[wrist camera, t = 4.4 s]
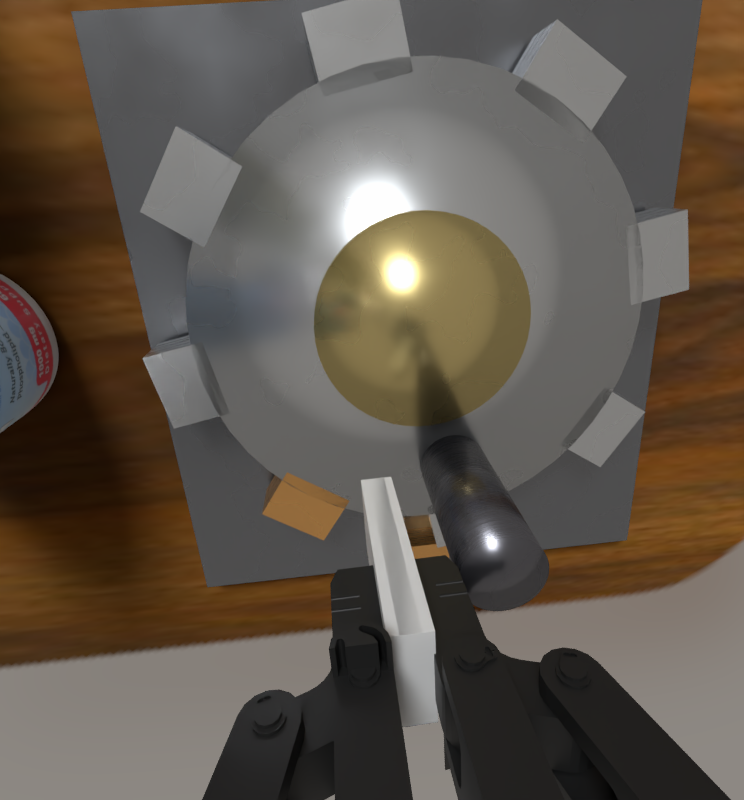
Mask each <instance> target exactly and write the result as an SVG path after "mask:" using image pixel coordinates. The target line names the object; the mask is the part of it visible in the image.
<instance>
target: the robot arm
mask: <svg viewBox="0 0 744 800" xmlns="http://www.w3.org/2000/svg"><path fill="white" fill-rule="evenodd" d="M361 488H362V500H363V511H364V522H365V533H366V545H367V553H368V560H369V566H363V567H355V568H347V569H339V570H337V572H336V574H335V576H334V578H333V580H332V582H331V607H332V630H333V638H332V639H331V643H330V647H329V653H330V660H331V671H330V673H329V674H328V676H327V677H326V678H325V680H324V681H323V682H321V684H319V685H318V686H317V687H315V688H313V689H312V690H310V691H308V692H306V693H304V694H302V695H299V696H297V697H294V696H293V695H292V694H291V693H289V692H285V691H282V690H269V691H265V692H263V693H261V694H258V695H256V696H254V697H253V698H252V699H251V700H249V701H248V702H247V703H246V704H245V705H244V707H243V708H242V710H241V711H240V713H239V714H238V716H237V718H236V721H235V723H234V725H233V728H232V730H231V733H230V735H229V738H228V740H227V742H226V744H225V747H224V749H223V752H222V754H221V756H220V759H219V761H218V763H217V766H216V768H215V771H214V773H213V775H212V778H211V780H210V783H209V785H208V787H207V790H206V792H205V794H204V797H203V799H202V800H325V799H327V798H328V797H330V796H332V795H334V794H335V800H413V797H412V791H411V784H410V777H409V770H408V763H407V756H406V750H405V743H404V736H403V729H402V727H410V726H416V725H423V724H429V723H436V722H438V713H439V717H440V721H441V725H442V729H443V732H444V751H445V752H444V753H445V769H446V770H447V769H451V773H452V777H453V781H454V785H455V789H456V793H457V796H458V800H731V799H730V798H729V797H728V796H727V795H726V794H725V793H724V792H723V791H722V790H721V789H720V788H719V787H718V786H717V785H716V784H715V783H714V782H713V781H712V780H711V779H710V778H709V777H708V776H707V775H706V773H704V771H703V770H702V769H701V768H700V767H699V766H698V765H697V764H696V763H695V762H694V761H693V760H692V759H691V758H690V757H689V756H688V755H687V754H686V753H685V752H684V751H683V750H682V749H681V748H680V747H679V746H678V745H677V744H676V742H675V741H674V740H673V739H672V738H671V737H669V735H668V734H667V733H666V732H665V731H664V730H663V729H662V728H661V727H660V726H659V725H658V724H657V723H656V722H655V721H654V720H653V719H652V718H651V717H650V716H649V715H648V714H647V713H646V711H644V709H643V708H642V707H641V706H640V705H639V704H638V703H637V702H636V701H635V700H634V699H633V698H632V697H631V696H630V695H629V694H628V693H627V692H626V691H625V690H624V689H623V688H622V687H621V686H620V685H619V683H617V682H616V680H615V679H614V678H613V677H612V676H611V675H610V674H609V673H608V672H607V671H606V670H605V669H604V668H603V667H602V666H601V665H600V664H599V663H598V662H597V661H596V660H594V659H593V658H592V657H590V656H589V655H588V654H586V653H583V652H581V651H578V650H576V649H570V648H559V649H554V650H551V651H550V652H548V653H547V654H546V655H544V656H543V658H542V660H541V662H540V663H539V662H532V661H525V660H519V659H515V658H511V657H508V656H506V655H504V654H502V653H500V652H499V650H498V649H497V647H496V646H495V645H494V644H493V643H491V642H490V641H488V640H487V639H486V637H485V635H484V633H483V630H482V627H481V625H480V622H479V620H478V617H477V615H476V612H475V610H474V607H473V605H472V602H471V600H470V597H469V594H468V593H467V589H466V587H465V584H464V583H463V579H462V577H461V574H460V572H459V569H458V567H457V565H455V564H454V563H453V562H452V561H451V560H450V559H449V558H448V557H447V556H446V555H442V556H434V557H426V558H419V559H414V555H413V552H412V548H411V544H410V541H409V537H408V534H407V530H406V527H405V523H404V520H403V516H402V513H401V509H400V506H399V502H398V499H397V495H396V492H395V488H394V485H393V481H392V478H391V477H385V478H384V477H383V478H374V479H366V480H361Z"/></svg>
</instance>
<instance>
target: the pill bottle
mask: <svg viewBox="0 0 744 800" xmlns="http://www.w3.org/2000/svg"><path fill="white" fill-rule="evenodd" d="M58 361H59V353H58V345H57V341H56V337H55V334H54V331H53V329H52V326H51V324H50V322H49V320H48V319H47V317H46V315H45V314H44V312H43V311H42V309H41V308H40V306H39V305H38V304H37V303H36V302H35V300H34V299H33V298H32V297H31V296H30V295H29V294H28V293H27V292H26V291H25V290H23V289H22V288H21V287H20V286H19V285H17V284H16V283H14V282H13V281H12V280H10V279H9V278H7V277H5V276H3V275H2V274H0V433H1V432H2V431H4V430H5V429H6V428H8V427H9V426H10V425H12V424H13V423H14V422H16V421H17V420H19V419H20V418H21V417H23V416H24V415H25V414H27V413H28V412H29V411H30V410H31V409H33V408H34V407H35V406H36V405H37V404H38V403H39V402H40V401H41V400H42V399H43V397H44V396H45V395H46V394H47V392H48V391H49V389H50V387H51V385H52V383H53V381H54V379H55V376H56V372H57V368H58Z"/></svg>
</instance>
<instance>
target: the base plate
mask: <svg viewBox="0 0 744 800" xmlns="http://www.w3.org/2000/svg"><path fill="white" fill-rule="evenodd" d="M342 1H345V0H275V1H256V2H238V3H220V4H202V5H184V6H165V7H147V8H129V9H111V10H92V11H74V12H71V13H72V17H73V21H74V25H75V29H76V34H77V38H78V42H79V46H80V51H81V55H82V59H83V63H84V67H85V72H86V76H87V80H88V84H89V89H90V93H91V97H92V101H93V105H94V110H95V114H96V118H97V122H98V127H99V131H100V135H101V139H102V143H103V148H104V152H105V156H106V160H107V165H108V169H109V173H110V177H111V181H112V186H113V190H114V194H115V198H116V203H117V207H118V211H119V215H120V220H121V224H122V228H123V232H124V236H125V241H126V245H127V249H128V253H129V258H130V262H131V266H132V270H133V274H134V279H135V283H136V287H137V291H138V296H139V300H140V304H141V308H142V312H143V317H144V321H145V325H146V329H147V334H148V338H149V342H150V346H151V350H152V349H153V348H154V347H155V346H156V345H157V344H158V343H161V342H165V341H169V340H172V339H176V338H180V337H183V336H187V335H189V332H188V327H187V314H186V295H185V294H186V282H187V270H188V261H189V256H190V252H191V247H192V243H193V241H192V240H190V239H188V238H186V237H184V236H183V235H181V234H179V233H177V232H175V231H174V230H172V229H170V228H168V227H166V226H165V225H163V224H161V223H159V222H157V221H156V220H154V219H152V218H150V217H148V216H147V215H145V214H143V213H141V212H140V210H141V208H142V206H143V203H144V201H145V198H146V196H147V194H148V191H149V189H150V186H151V184H152V182H153V179H154V177H155V175H156V172H157V170H158V167H159V165H160V163H161V160H162V158H163V155H164V153H165V151H166V148H167V146H168V144H169V141H170V139H171V136H172V134H173V132H174V129H175V127H176V126H177V127H179V128H182V129H184V130H186V131H189V132H191V133H193V134H194V135H196V136H198V137H199V138H201V139H202V140H204V141H206V142H207V143H209V144H211V145H212V146H214V147H216V148H217V149H219V150H220V151H222V152H224V153H225V154H227V155H229V156H230V157H232V156H233V155H234V154H235V152H236V151H237V150H238V148H239V147H240V146H241V144H242V143H243V142H244V140H245V139H246V138H247V137H248V136H249V135H250V134H251V133H252V132H253V131H254V130H255V129H256V128H257V127H258V126H259V125H260V124H261V123H262V122H263V121H264V120H265V119H266V118H267V117H268V116H269V115H270V114H272V113H273V112H274V111H276V110H277V109H278V108H280V107H281V106H282V105H283V104H285V103H286V102H287V101H289V100H290V99H291V98H293V97H294V96H295V95H297V94H298V93H300V92H302V91H304V90H306V89H307V88H309V87H311V86H313V85H315V84H317V81H316V77H315V73H314V69H313V66H312V62H311V58H310V54H309V50H308V46H307V42H306V38H305V34H304V29H303V21H302V13H303V12H306V11H310V10H313V9H317V8H320V7H324V6H327V5H331V4H334V3H338V2H342ZM400 6H401V11H402V16H403V21H404V27H405V32H406V37H407V42H408V47H409V53H410V57H411V56H443V57H451V58H460V59H469V60H472V61H476V62H480V63H483V64H487V65H491V66H494V67H498V68H502V69H504V70H506V71H508V72H510V73H512V72H513V70H514V68H515V67H516V65H517V63H518V62H519V60H520V58H521V56H522V55H523V53H524V51H525V50H526V48H527V46H528V45H529V43H530V41H531V39H532V38H533V36H535V35H536V34H538V33H539V32H540V31H542V30H543V29H544V28H546V27H547V26H549V25H550V24H551V23H553V22H554V21H555V20H557V19H558V20H559V21H560V22H561V23H563V24H564V25H565V26H566V27H568V28H569V29H570V30H571V31H572V32H574V33H575V34H576V35H577V36H578V37H580V38H581V39H582V40H583V41H584V42H586V43H587V44H588V45H589V46H591V47H592V48H593V49H594V50H595V51H597V52H598V53H599V54H600V55H601V56H603V57H604V58H605V59H606V60H607V61H609V62H610V63H611V64H612V65H614V66H615V67H616V68H617V69H618V70H620V71H621V72H622V73H623V74H624V75H626V76H627V77H626V78H625V80H624V82H623V83H622V85H621V86H620V88H619V89H618V91H617V92H616V94H615V95H614V97H613V98H612V100H611V101H610V103H609V104H608V106H607V108H606V109H605V111H604V112H603V114H602V115H601V117H600V118H599V120H598V121H597V123H596V124H595V126H594V127H593V129H592V133H593V134H594V135H595V136H596V138H597V139H598V140H599V141H600V143H601V144H602V145H603V146H604V147H605V149H606V151H607V152H608V154H609V156H610V158H611V159H612V161H613V163H614V164H615V166H616V168H617V169H618V171H619V173H620V174H621V177H622V179H623V182H624V184H625V187H626V189H627V191H628V194H629V196H630V199H631V201H632V204H633V208H634V211H635V213H637V212H641V211H644V210H648V209H652V208H669V209H673V206H674V199H675V192H676V185H677V178H678V171H679V163H680V156H681V149H682V142H683V135H684V128H685V121H686V113H687V106H688V99H689V92H690V85H691V78H692V71H693V63H694V56H695V49H696V42H697V35H698V28H699V20H700V13H701V6H702V0H400ZM660 299H661V297H659V298H655V299H652V300H648V301H644V302H642V304H641V311H640V318H639V323H638V327H637V331H636V334H635V338H634V342H633V346H632V349H631V352H630V354H629V357H628V359H627V362H626V364H625V367H624V369H623V372H622V374H621V376H620V378H619V380H618V382H617V384H616V386H615V388H614V389H613V390H614V391H615V392H617V393H619V394H620V395H622V396H623V397H624V398H626V399H627V400H629V401H630V402H632V403H633V404H635V405H636V406H637V407H639V408H640V409H642V410H643V411H645V407H646V400H647V392H648V385H649V378H650V371H651V364H652V357H653V349H654V342H655V335H656V328H657V321H658V314H659V307H660ZM166 414H167V412H166ZM644 414H645V413H644ZM644 414H643V415H642V416H641V418H640V419H639V420H638V421H637V423H636V424H635V425H634V426H633V428H632V429H631V430H630V431H629V433H628V434H627V435H626V436H625V437H624V439H623V440H622V441H621V442H620V444H619V445H618V446H617V447H616V449H615V450H614V451H613V452H612V454H611V455H610V456H609V457H608V458H607V460H606V461H605V462H604V463H603V465H602V466H601V467H599V466H597V465H595V464H594V463H592V462H590V461H588V460H586V459H585V458H583V457H581V456H579V455H577V454H576V453H574V452H572V451H570V450H568V449H567V450H566V451H565V452H564V453H563V454H562V455H561V456H560V457H559V458H557V459H556V460H555V461H554V462H553V463H551V464H550V465H549V466H547V467H546V468H545V469H543V470H542V471H541V472H539V473H538V474H536V475H535V476H534V477H532V478H530V479H529V480H527V481H525V482H524V483H522V484H520V485H518V486H517V487H515V488H513V489H512V490H510V491H507V492H508V493H509V495H510V497H511V498H512V500H513V502H514V503H515V505H516V507H517V508H518V510H519V511H520V513H521V515H522V516H523V518H524V520H525V521H526V523H527V525H528V526H529V528H530V530H531V531H532V533H533V535H534V536H535V538H536V540H537V541H538V543H539V544H540V546H541V548H542V549H552V548H561V547H570V546H579V545H588V544H597V543H606V542H615V541H623V540H627V535H628V528H629V521H630V514H631V507H632V500H633V493H634V485H635V478H636V471H637V464H638V457H639V450H640V442H641V435H642V428H643V421H644ZM167 418H168V422H169V426H170V431H171V435H172V439H173V443H174V448H175V452H176V456H177V460H178V465H179V469H180V473H181V477H182V481H183V486H184V490H185V494H186V498H187V503H188V507H189V511H190V515H191V519H192V524H193V528H194V532H195V536H196V541H197V545H198V549H199V553H200V557H201V562H202V566H203V570H204V574H205V579H206V583H207V587H214V586H223V585H232V584H241V583H250V582H259V581H268V580H277V579H285V578H294V577H303V576H312V575H321V574H330V573H336V572H337V570H339V569H347V568H355V567H363V566H369V560H368V553H367V545H366V533H365V522H364V513H361V512H357V511H353V510H349V509H344V510H343V512H342V514H341V515H340V517H339V518H338V520H337V521H336V523H335V524H334V526H333V527H332V529H331V530H330V532H329V533H328V535H327V537H326V538H325V540H321V539H319V538H317V537H314V536H312V535H310V534H307V533H305V532H303V531H300V530H298V529H296V528H293V527H291V526H289V525H286V524H284V523H282V522H279V521H277V520H275V519H272V518H270V517H268V516H265V515H263V514H262V512H263V506H264V501H265V496H266V491H267V488H268V486H269V484H270V482H271V481H272V479H273V477H274V476H275V475H274V474H273V473H271V472H270V471H268V470H267V469H266V468H265V467H264V466H263V465H262V464H260V463H259V462H258V461H257V460H256V459H255V458H254V457H253V456H252V455H250V454H249V453H248V452H247V451H246V450H245V448H244V447H243V446H242V445H241V444H240V443H239V441H238V440H237V439H236V438H235V437H234V436H233V435H232V433H231V432H230V431H229V429H228V428H227V426H226V425H225V423H224V422H223V420H222V419H221V417H220V416H219V417H215V418H211V419H208V420H204V421H200V422H197V423H193V424H189V425H186V426H182V427H178V428H173V425H172V423H171V421H170V419H169V417H168V414H167ZM403 520H404V523H405V527H406V530H407V534H408V537H409V541H410V544H411V548H412V552H413V555H414V559H419V558H426V557H434V556H442V555H446V556H447V557H448V558H449V559H450V556H449V553H448V550H447V547H446V546H443V547H439V548H437V545H436V542H435V539H434V535H433V532H432V529H431V526H430V523H429V519H428V515H420V516H403ZM450 560H451V559H450Z"/></svg>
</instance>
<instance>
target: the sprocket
mask: <svg viewBox="0 0 744 800" xmlns="http://www.w3.org/2000/svg"><path fill="white" fill-rule="evenodd" d="M302 21H303V29H304V34H305V38H306V42H307V46H308V50H309V54H310V58H311V62H312V66H313V69H314V73H315V77H316V81H317V84H315V85H313V86H311V87H309V88H307V89H306V90H304V91H302V92H300V93H298V94H297V95H295V96H294V97H293V98H291V99H290V100H289V101H287V102H286V103H285V104H283V105H282V106H281V107H280V108H278V109H277V110H276V111H274V112H273V113H272V114H270V115H269V116H268V117H267V118H266V119H265V120H264V121H263V122H262V123H261V124H260V125H259V126H258V127H257V128H256V129H255V130H254V131H253V132H252V133H251V134H250V135H249V136H248V137H247V138H246V139H245V140H244V142H243V143H242V144H241V146H240V147H239V148H238V150H237V151H236V152H235V154H234V155H233V156H232V157H230V156H229V155H227V154H225V153H224V152H222V151H220V150H219V149H217V148H216V147H214V146H212V145H211V144H209V143H207V142H206V141H204V140H202V139H201V138H199V137H198V136H196V135H194V134H193V133H191V132H189V131H186V130H184V129H182V128H179V127H177V126H176V127H175V129H174V132H173V134H172V136H171V139H170V141H169V144H168V146H167V148H166V151H165V153H164V155H163V158H162V160H161V163H160V165H159V167H158V170H157V172H156V175H155V177H154V179H153V182H152V184H151V186H150V189H149V191H148V194H147V196H146V198H145V201H144V203H143V206H142V208H141V210H140V212H141V213H143V214H145V215H147V216H148V217H150V218H152V219H154V220H156V221H157V222H159V223H161V224H163V225H165V226H166V227H168V228H170V229H172V230H174V231H175V232H177V233H179V234H181V235H183V236H184V237H186V238H188V239H190V240H192V241H193V243H192V247H191V252H190V256H189V261H188V270H187V282H186V294H185V295H186V314H187V327H188V332H189V335H187V336H183V337H180V338H176V339H172V340H169V341H165V342H161V343H158V344H157V345H156V346H155V347H154V348H153V349H152V350H151V351H150V352H149V353H148V354H147V355H145V356H144V357H143V358H142V359H143V361H144V363H145V365H146V367H147V370H148V372H149V374H150V376H151V379H152V381H153V383H154V385H155V388H156V390H157V392H158V394H159V396H160V399H161V401H162V403H163V405H164V408H165V410H166V412H167V414H168V417H169V419H170V421H171V423H172V425H173V428H178V427H182V426H186V425H189V424H193V423H197V422H200V421H204V420H208V419H211V418H215V417H219V416H220V417H221V419H222V420H223V422H224V423H225V425H226V426H227V428H228V429H229V431H230V432H231V433H232V435H233V436H234V437H235V438H236V439H237V440H238V441H239V443H240V444H241V445H242V446H243V447H244V448H245V450H246V451H247V452H248V453H249V454H250V455H252V456H253V457H254V458H255V459H256V460H257V461H258V462H259V463H260V464H262V465H263V466H264V467H265V468H266V469H267V470H268V471H270V472H271V473H273V474H274V475H275V476H274V477H273V479H272V481H271V482H270V484H269V486H268V488H267V491H266V496H265V501H264V506H263V512H262V514H263V515H265V516H268V517H270V518H272V519H275V520H277V521H279V522H282V523H284V524H286V525H289V526H291V527H293V528H296V529H298V530H300V531H303V532H305V533H307V534H310V535H312V536H314V537H317V538H319V539H321V540H325V538H326V537H327V535H328V533H329V532H330V530H331V529H332V527H333V526H334V524H335V523H336V521H337V520H338V518H339V517H340V515H341V514H342V512H343V510H344V509H349V510H353V511H357V512H361V513H364V511H363V500H362V488H361V480H366V479H374V478H383V477H384V478H385V477H391V478H392V481H393V485H394V488H395V492H396V495H397V499H398V502H399V506H400V509H401V513H402V516H420V515H428V519H429V523H430V526H431V529H432V532H433V535H434V539H435V542H436V545H437V548H439V547H443V546H446V547H447V550H448V553H449V556H450V559H451V561H452V562H453V563H454V564H455V565H457V567H458V569H459V572H460V574H461V577H462V579H463V583H464V584H465V587H466V589H467V593H468V594H469V597H470V600H471V602H472V604H473V605H475V606H477V607H479V608H481V609H485V610H490V611H504V610H509V609H513V608H516V607H519V606H521V605H523V604H525V603H527V602H528V601H530V600H531V599H532V598H534V597H535V596H536V595H537V594H538V593H539V592H540V591H541V589H542V588H543V586H544V585H545V583H546V580H547V578H548V574H549V563H548V559H547V556H546V554H545V553H544V551H543V549H542V548H541V546H540V544H539V543H538V541H537V540H536V538H535V536H534V535H533V533H532V531H531V530H530V528H529V526H528V525H527V523H526V521H525V520H524V518H523V516H522V515H521V513H520V511H519V510H518V508H517V507H516V505H515V503H514V502H513V500H512V498H511V497H510V495H509V493H508V492H507V491H510V490H512V489H513V488H515V487H517V486H518V485H520V484H522V483H524V482H525V481H527V480H529V479H530V478H532V477H534V476H535V475H536V474H538V473H539V472H541V471H542V470H543V469H545V468H546V467H547V466H549V465H550V464H551V463H553V462H554V461H555V460H556V459H557V458H559V457H560V456H561V455H562V454H563V453H564V452H565V451H566V450H567V449H568V450H570V451H572V452H574V453H576V454H577V455H579V456H581V457H583V458H585V459H586V460H588V461H590V462H592V463H594V464H595V465H597V466H599V467H601V466H602V465H603V463H604V462H605V461H606V460H607V458H608V457H609V456H610V455H611V454H612V452H613V451H614V450H615V449H616V447H617V446H618V445H619V444H620V442H621V441H622V440H623V439H624V437H625V436H626V435H627V434H628V433H629V431H630V430H631V429H632V428H633V426H634V425H635V424H636V423H637V421H638V420H639V419H640V418H641V416H642V415H643V414H644V413H645V411H643V410H642V409H640V408H639V407H637V406H636V405H635V404H633V403H632V402H630V401H629V400H627V399H626V398H624V397H623V396H622V395H620V394H619V393H617V392H615V391H614V390H613V389H614V388H615V386H616V384H617V382H618V380H619V378H620V376H621V374H622V372H623V369H624V367H625V364H626V362H627V359H628V357H629V354H630V352H631V349H632V346H633V342H634V338H635V334H636V331H637V327H638V323H639V318H640V311H641V304H642V302H644V301H648V300H652V299H655V298H659V297H663V296H666V295H670V294H674V293H677V292H681V291H685V290H689V259H688V210H687V209H669V208H652V209H648V210H644V211H641V212H637V213H635V211H634V208H633V204H632V201H631V199H630V196H629V194H628V191H627V189H626V187H625V184H624V182H623V179H622V177H621V174H620V173H619V171H618V169H617V168H616V166H615V164H614V163H613V161H612V159H611V158H610V156H609V154H608V152H607V151H606V149H605V147H604V146H603V145H602V144H601V143H600V141H599V140H598V139H597V138H596V136H595V135H594V134H593V133H592V129H593V127H594V126H595V124H596V123H597V121H598V120H599V118H600V117H601V115H602V114H603V112H604V111H605V109H606V108H607V106H608V104H609V103H610V101H611V100H612V98H613V97H614V95H615V94H616V92H617V91H618V89H619V88H620V86H621V85H622V83H623V82H624V80H625V78H626V77H627V76H626V75H624V74H623V73H622V72H621V71H620V70H618V69H617V68H616V67H615V66H614V65H612V64H611V63H610V62H609V61H607V60H606V59H605V58H604V57H603V56H601V55H600V54H599V53H598V52H597V51H595V50H594V49H593V48H592V47H591V46H589V45H588V44H587V43H586V42H584V41H583V40H582V39H581V38H580V37H578V36H577V35H576V34H575V33H574V32H572V31H571V30H570V29H569V28H568V27H566V26H565V25H564V24H563V23H561V22H560V21H559V20H558V19H557V20H555V21H554V22H553V23H551V24H550V25H549V26H547V27H546V28H544V29H543V30H542V31H540V32H539V33H538V34H536V35H535V36H533V38H532V39H531V41H530V43H529V45H528V46H527V48H526V50H525V51H524V53H523V55H522V56H521V58H520V60H519V62H518V63H517V65H516V67H515V68H514V70H513V72H512V73H510V72H508V71H506V70H504V69H502V68H498V67H494V66H491V65H487V64H483V63H480V62H476V61H472V60H469V59H460V58H451V57H443V56H411V57H410V53H409V47H408V42H407V37H406V32H405V27H404V21H403V16H402V11H401V6H400V0H345V1H342V2H338V3H334V4H331V5H327V6H324V7H320V8H317V9H313V10H310V11H306V12H303V13H302Z"/></svg>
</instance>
